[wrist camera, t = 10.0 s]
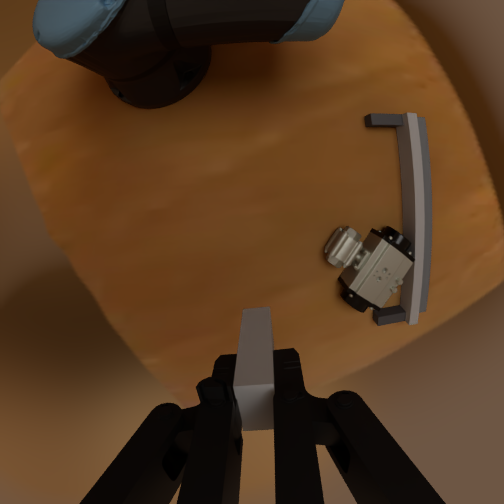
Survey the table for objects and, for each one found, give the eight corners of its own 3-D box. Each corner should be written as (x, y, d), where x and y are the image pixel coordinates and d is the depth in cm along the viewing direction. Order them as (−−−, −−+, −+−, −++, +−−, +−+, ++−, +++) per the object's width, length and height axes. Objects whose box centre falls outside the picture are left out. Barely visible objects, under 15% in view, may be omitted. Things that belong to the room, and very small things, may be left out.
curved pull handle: (364, 116, 35) (374, 111, 31) (421, 118, 35) (435, 114, 31) (372, 318, 43) (381, 330, 39) (423, 308, 43) (434, 319, 39)
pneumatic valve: (352, 200, 39) (411, 246, 40) (305, 271, 41) (367, 309, 43) (365, 205, 33) (429, 256, 35) (312, 285, 36) (380, 326, 37)
